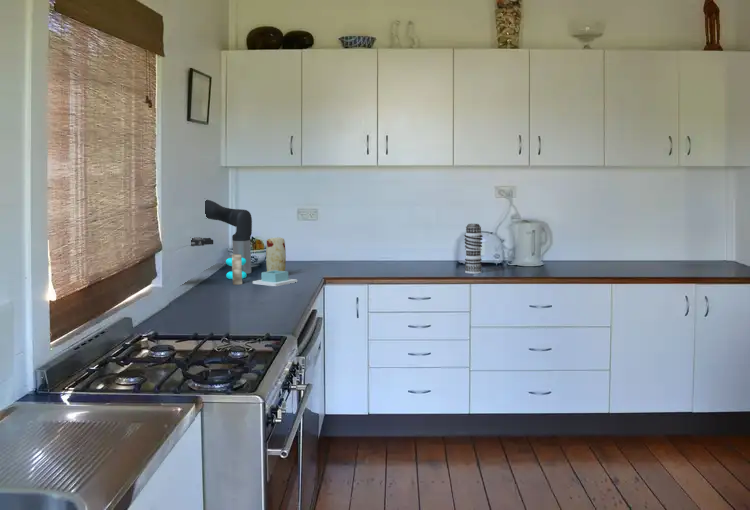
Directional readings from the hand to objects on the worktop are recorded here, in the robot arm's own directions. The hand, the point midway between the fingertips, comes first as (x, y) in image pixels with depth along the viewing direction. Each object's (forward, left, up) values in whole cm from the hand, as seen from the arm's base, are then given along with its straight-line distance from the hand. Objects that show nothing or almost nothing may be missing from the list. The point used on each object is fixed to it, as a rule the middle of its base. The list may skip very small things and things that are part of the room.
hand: (212, 241), depth 343 cm
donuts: (-8, +22, -21) cm, 32 cm away
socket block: (+19, +21, -21) cm, 35 cm away
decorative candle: (+83, +101, -21) cm, 133 cm away
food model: (+6, +36, -21) cm, 42 cm away
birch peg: (+6, +9, -21) cm, 24 cm away
